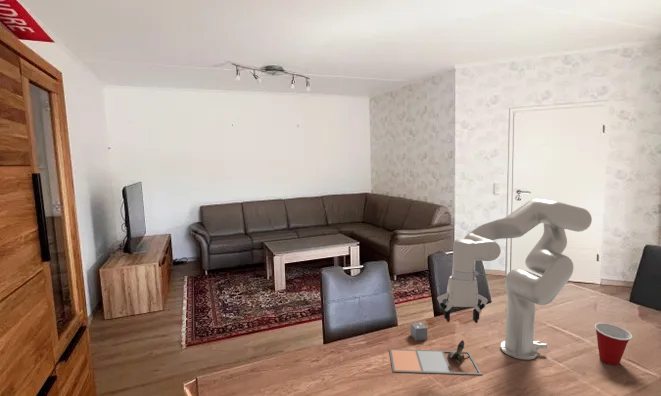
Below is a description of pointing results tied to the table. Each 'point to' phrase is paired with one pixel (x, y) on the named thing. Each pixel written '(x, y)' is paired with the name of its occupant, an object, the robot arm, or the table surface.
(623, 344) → the plastic cup
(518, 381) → the table surface
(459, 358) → the eagle figurine
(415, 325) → the die
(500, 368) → the table surface
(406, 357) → the board
